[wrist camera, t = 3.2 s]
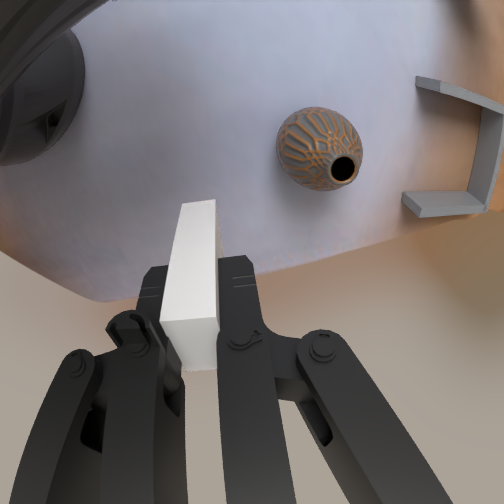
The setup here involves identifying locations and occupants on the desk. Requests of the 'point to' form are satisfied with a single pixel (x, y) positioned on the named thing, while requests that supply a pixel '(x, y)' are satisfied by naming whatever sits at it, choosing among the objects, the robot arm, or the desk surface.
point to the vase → (319, 149)
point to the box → (484, 167)
